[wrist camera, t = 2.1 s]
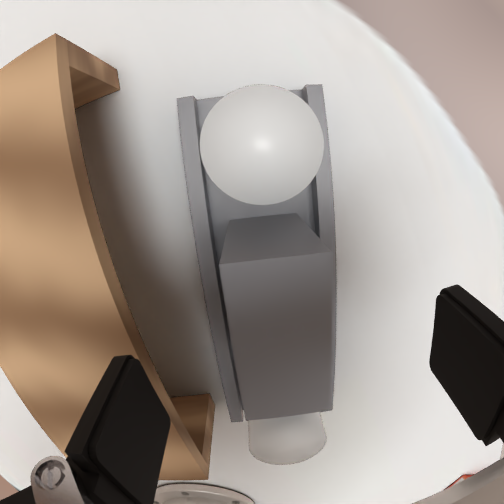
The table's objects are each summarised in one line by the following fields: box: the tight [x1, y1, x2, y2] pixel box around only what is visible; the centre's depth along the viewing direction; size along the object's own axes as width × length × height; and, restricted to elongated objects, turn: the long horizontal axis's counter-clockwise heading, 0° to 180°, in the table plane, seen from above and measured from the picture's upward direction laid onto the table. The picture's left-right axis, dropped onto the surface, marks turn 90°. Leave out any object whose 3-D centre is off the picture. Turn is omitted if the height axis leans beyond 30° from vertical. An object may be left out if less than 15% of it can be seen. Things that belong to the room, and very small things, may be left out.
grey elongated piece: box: [177, 84, 336, 465], centre depth 15 cm, size 20×7×8 cm, turn 6°
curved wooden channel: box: [0, 33, 215, 480], centre depth 15 cm, size 24×10×7 cm, turn 12°
